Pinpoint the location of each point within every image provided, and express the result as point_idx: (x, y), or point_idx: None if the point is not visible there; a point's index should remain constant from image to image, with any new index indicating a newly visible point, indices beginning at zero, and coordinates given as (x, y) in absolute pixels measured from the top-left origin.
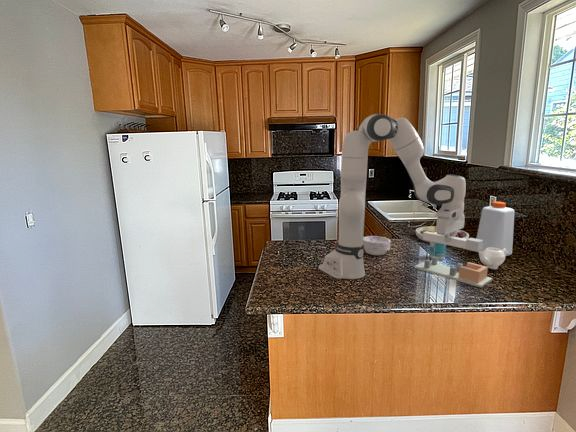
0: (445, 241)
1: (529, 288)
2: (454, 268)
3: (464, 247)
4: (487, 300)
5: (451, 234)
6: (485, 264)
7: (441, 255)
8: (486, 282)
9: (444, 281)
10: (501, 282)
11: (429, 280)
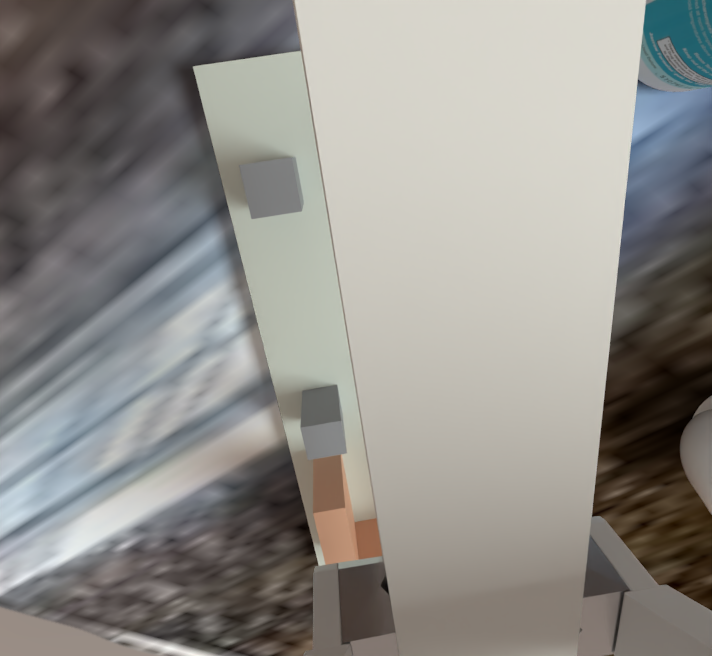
0: (315, 580)
1: None
2: (311, 456)
3: None
4: (197, 634)
5: (665, 635)
6: (681, 435)
7: (681, 78)
8: None
9: (197, 413)
10: None
11: (100, 352)
